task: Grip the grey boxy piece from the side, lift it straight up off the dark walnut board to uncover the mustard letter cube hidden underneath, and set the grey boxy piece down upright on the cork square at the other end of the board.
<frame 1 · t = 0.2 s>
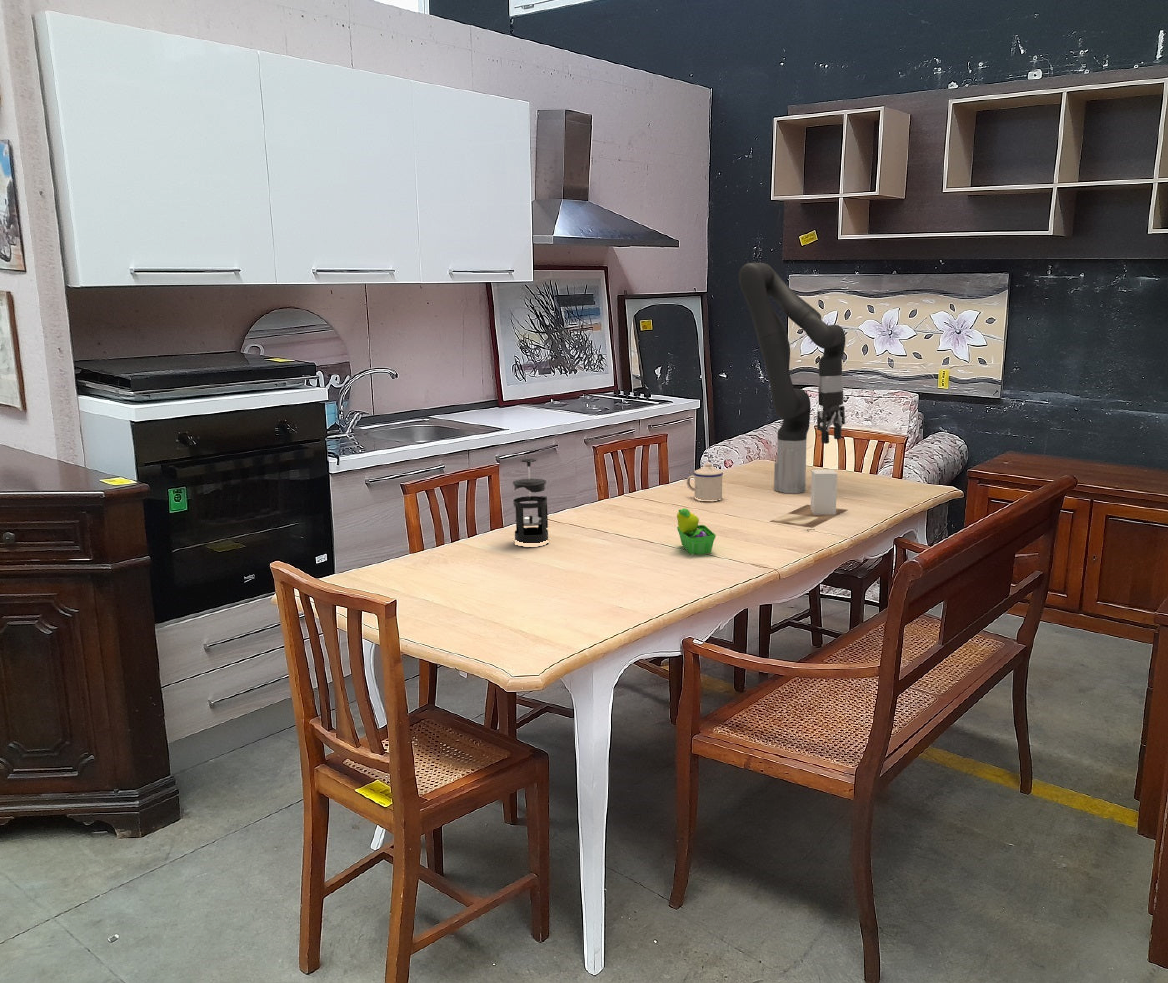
hand: (831, 441, 300), 17 cm above the table, tool pointing down, fingers open, 8 cm apart
fruit basket: (693, 551, 245), on the table
grey boxy piece: (823, 512, 278), point 1 cm above the table, touching board
teacup with lid: (704, 499, 303), on the table
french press: (532, 543, 256), on the table
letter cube: (823, 512, 278), point 1 cm above the table, touching board
board: (809, 518, 274), on the table
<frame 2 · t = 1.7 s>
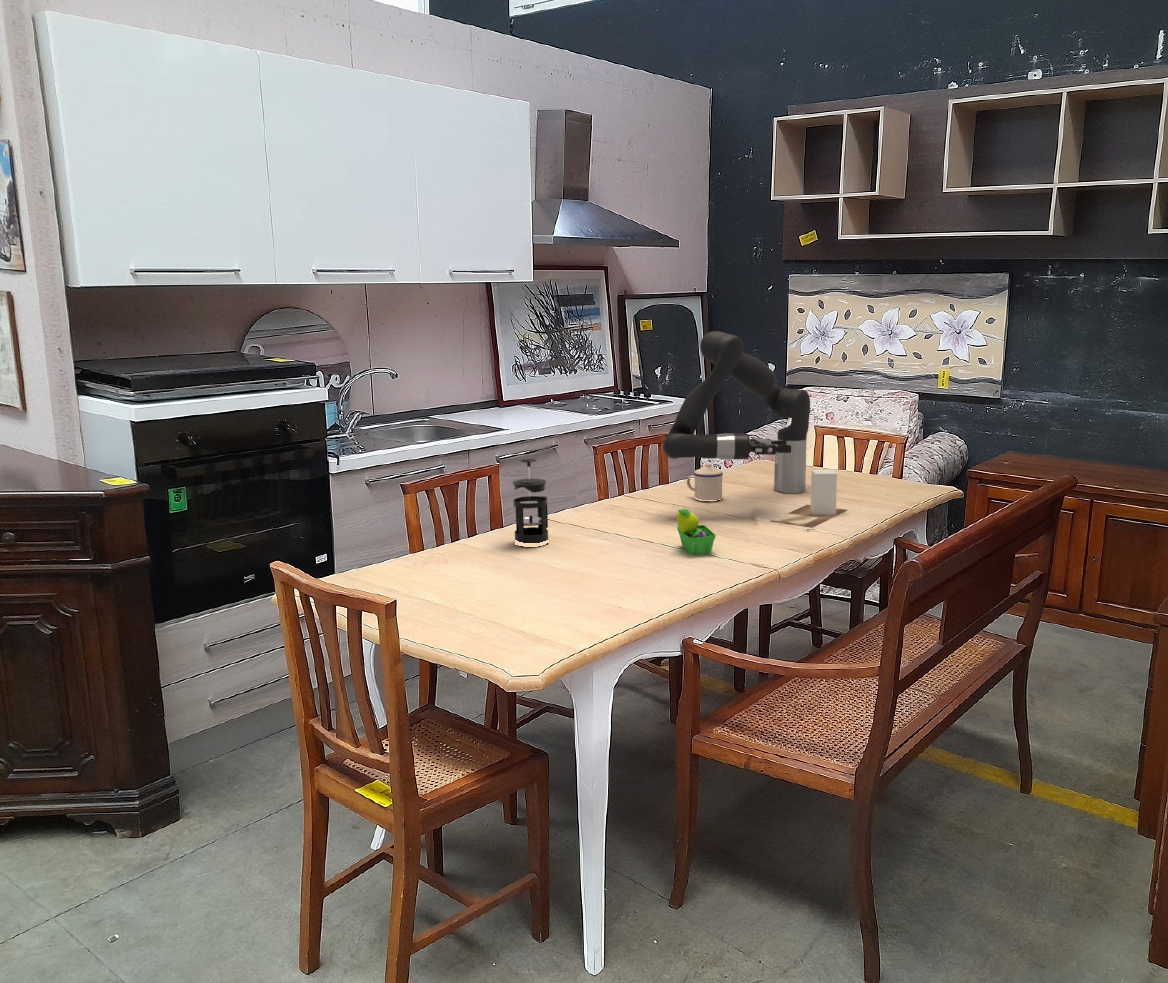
hand: (788, 446, 274), 21 cm above the table, tool horizontal, fingers open, 8 cm apart
nothing on the table moved.
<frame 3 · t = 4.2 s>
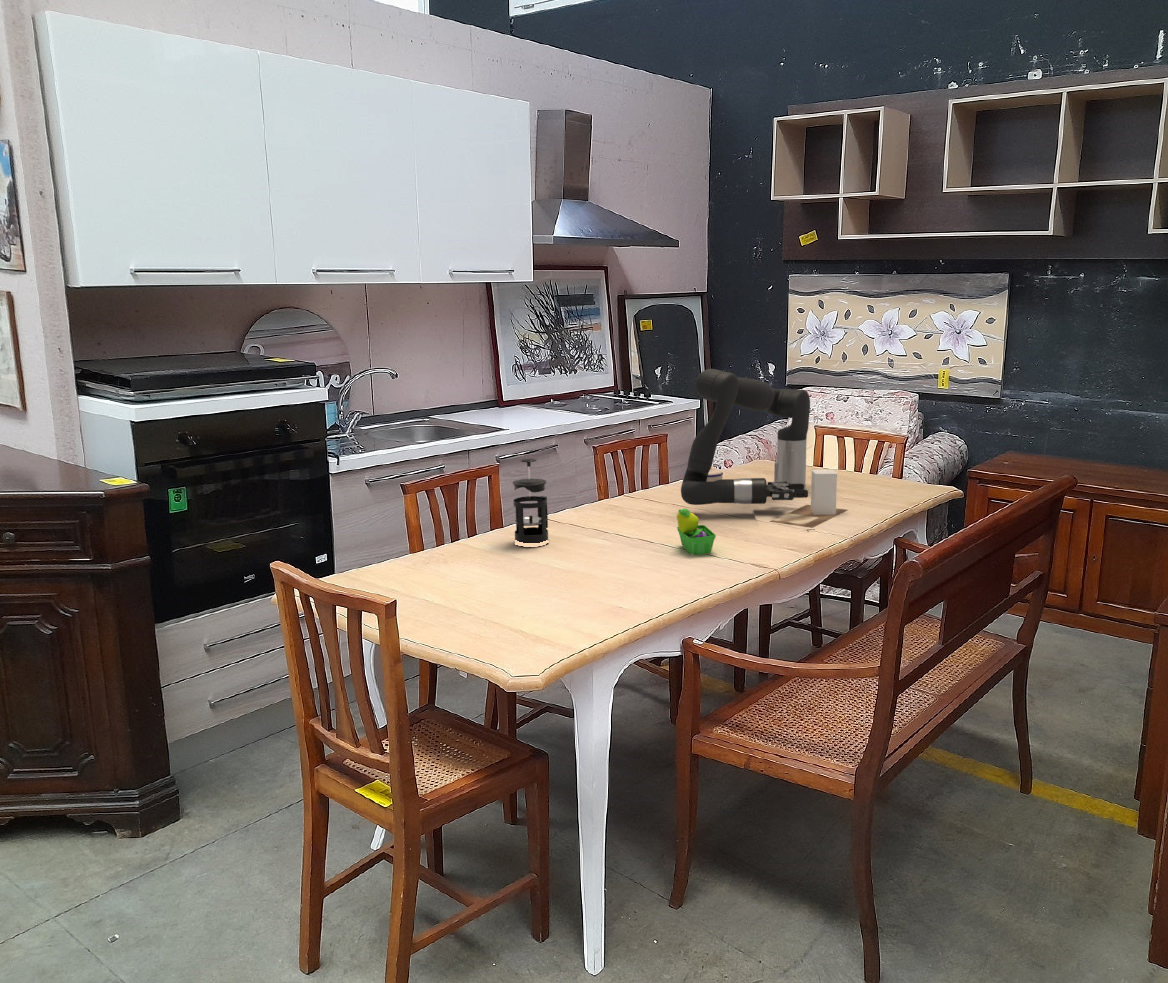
hand: (805, 490, 277), 7 cm above the table, tool horizontal, fingers open, 8 cm apart
nothing on the table moved.
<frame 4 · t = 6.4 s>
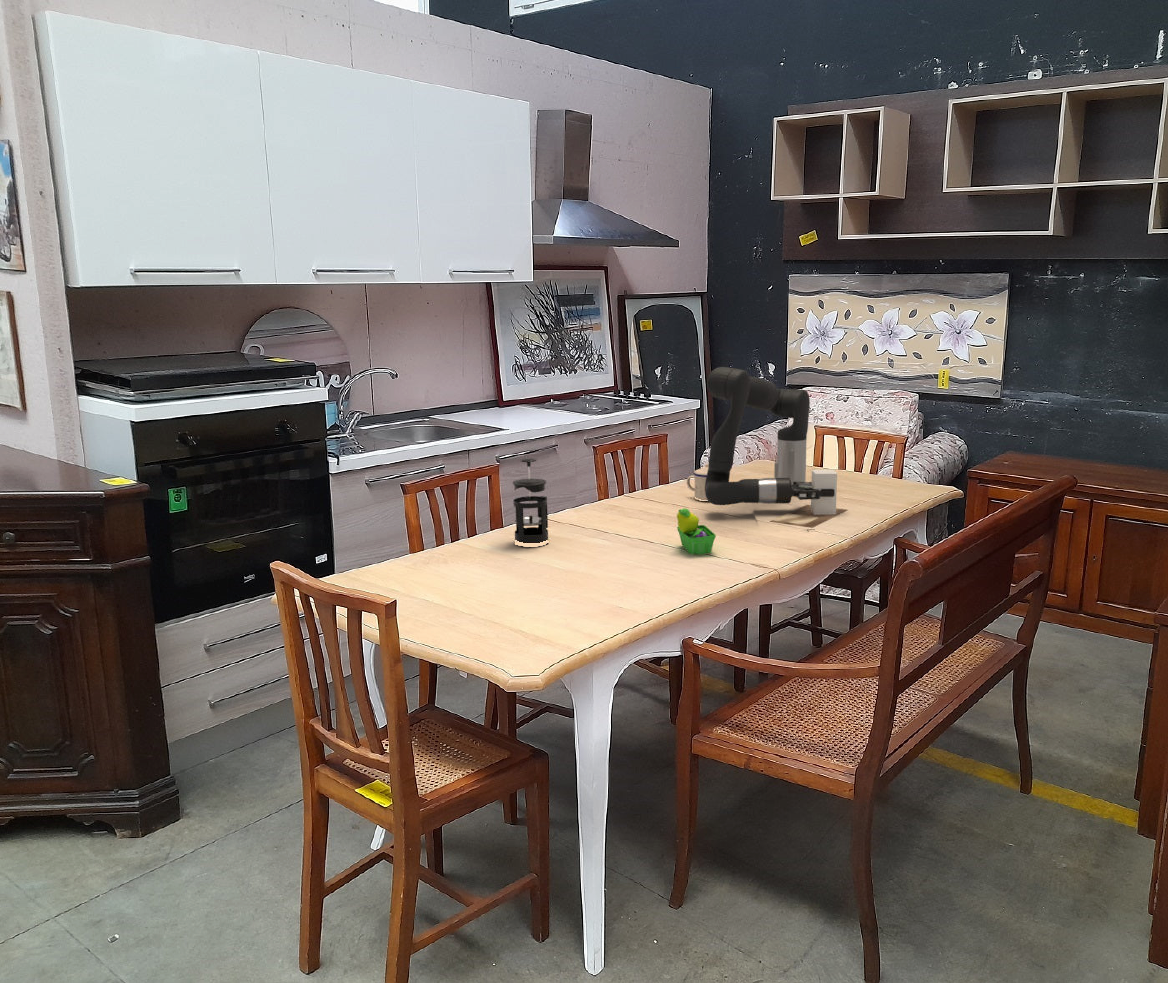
hand: (832, 490, 276), 7 cm above the table, tool horizontal, fingers closed on grey boxy piece, 6 cm apart
grey boxy piece: (823, 512, 278), point 1 cm above the table, touching gripper
everything else where it was.
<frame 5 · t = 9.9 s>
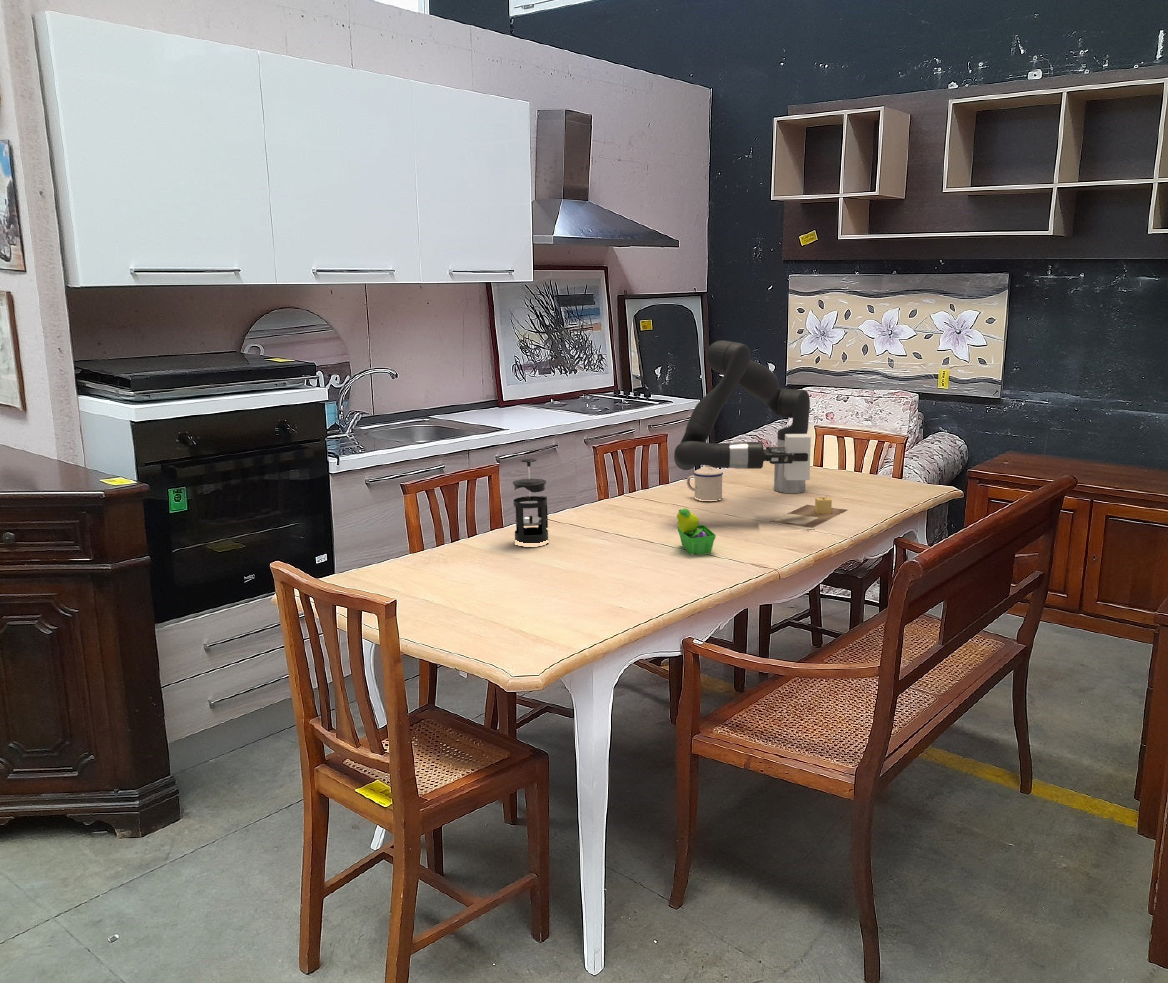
hand: (805, 455, 266), 19 cm above the table, tool horizontal, fingers closed on grey boxy piece, 6 cm apart
grey boxy piece: (796, 477, 268), point 13 cm above the table, touching gripper
everything else where it was.
when the fingers open (9 cm above the table, at t = 13.2 s): grey boxy piece drops 1 cm, resting on board.
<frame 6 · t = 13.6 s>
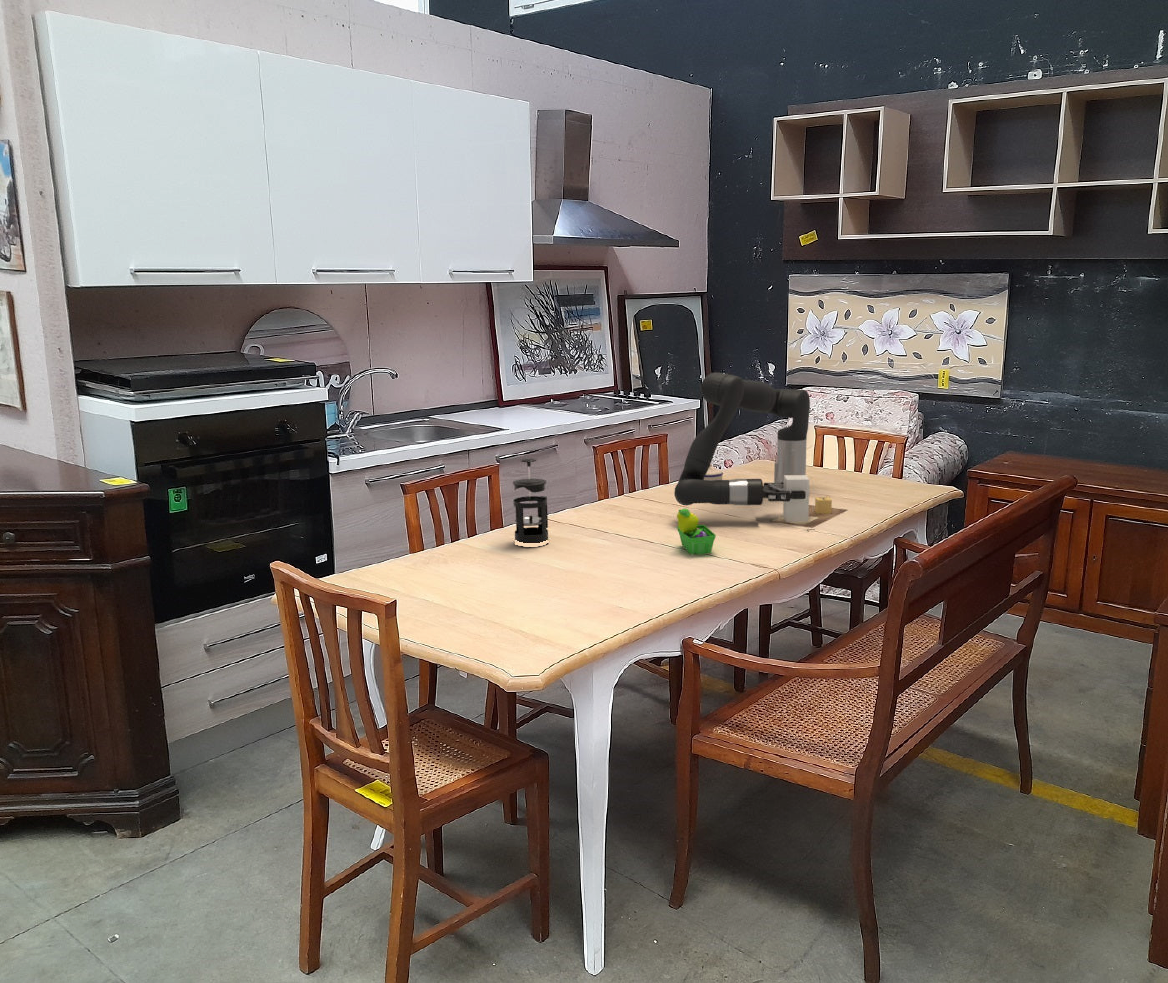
hand: (803, 491, 269), 9 cm above the table, tool horizontal, fingers open, 8 cm apart
grey boxy piece: (795, 518, 270), point 1 cm above the table, touching board
everything else where it was.
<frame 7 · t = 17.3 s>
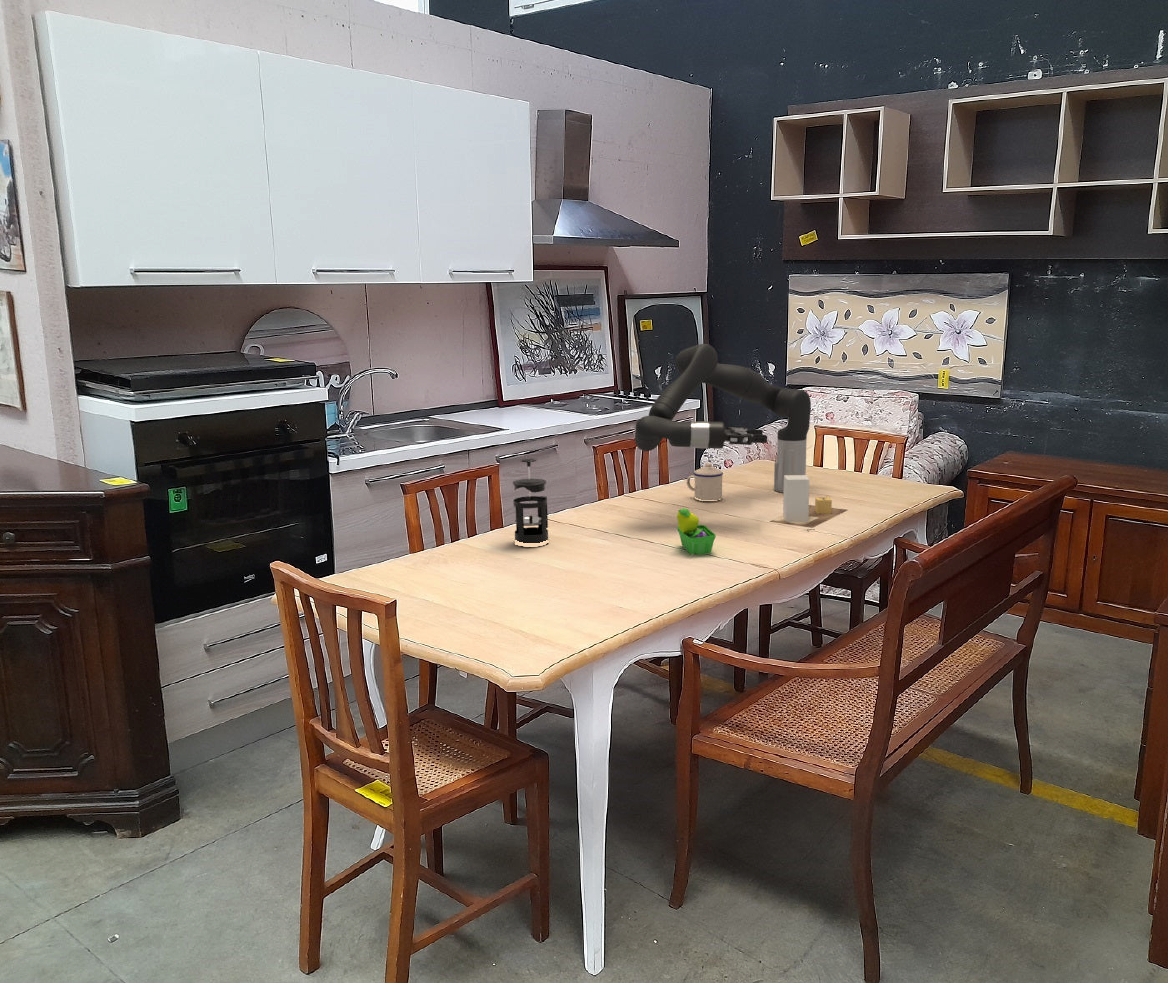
hand: (764, 436, 266), 25 cm above the table, tool horizontal, fingers open, 8 cm apart
nothing on the table moved.
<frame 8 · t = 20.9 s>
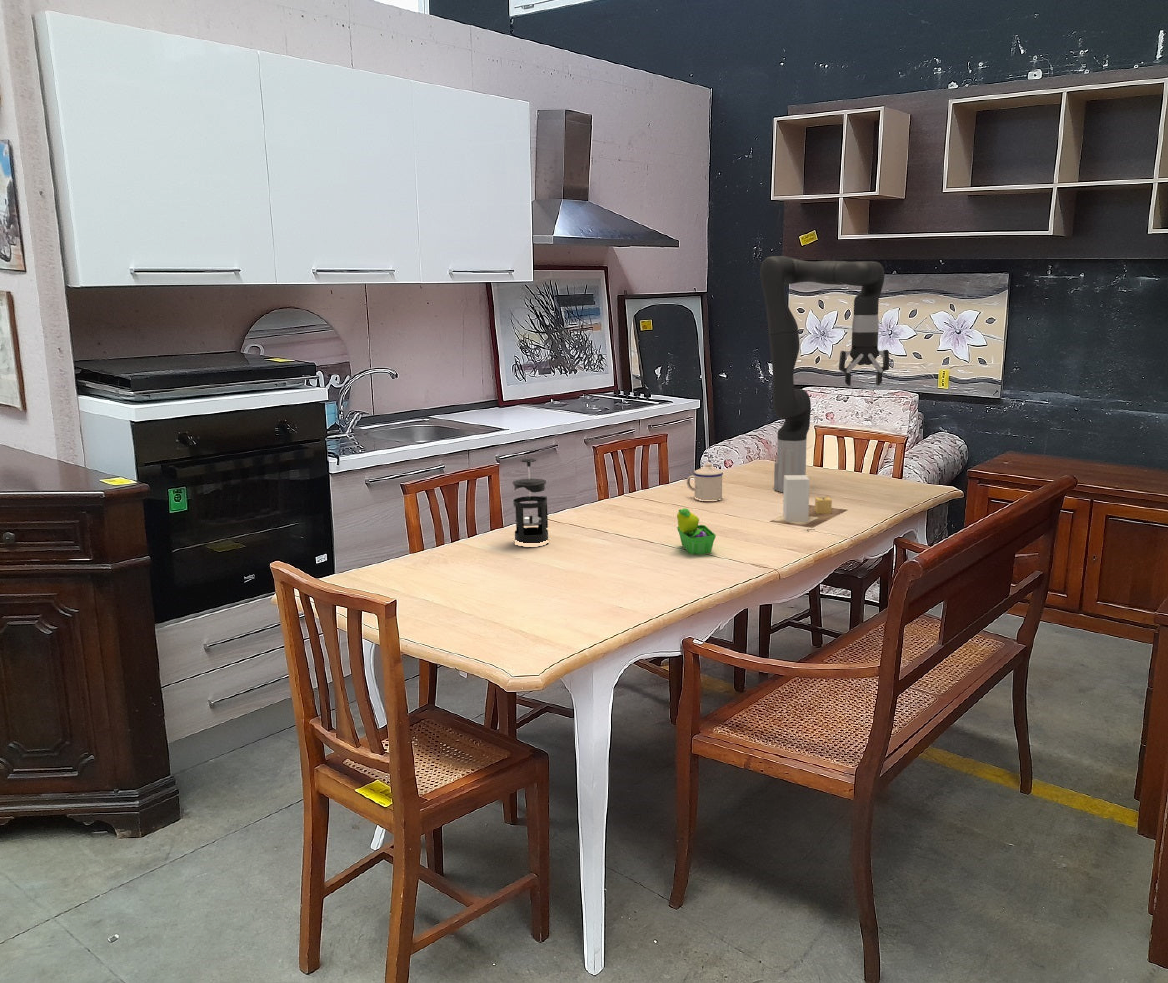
hand: (863, 385, 285), 36 cm above the table, tool pointing down, fingers open, 8 cm apart
nothing on the table moved.
at the end: grey boxy piece inside the target area (0.0 cm from its centre), point 1.1 cm above the table; grey boxy piece tilted 0°; the gripper is holding nothing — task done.
